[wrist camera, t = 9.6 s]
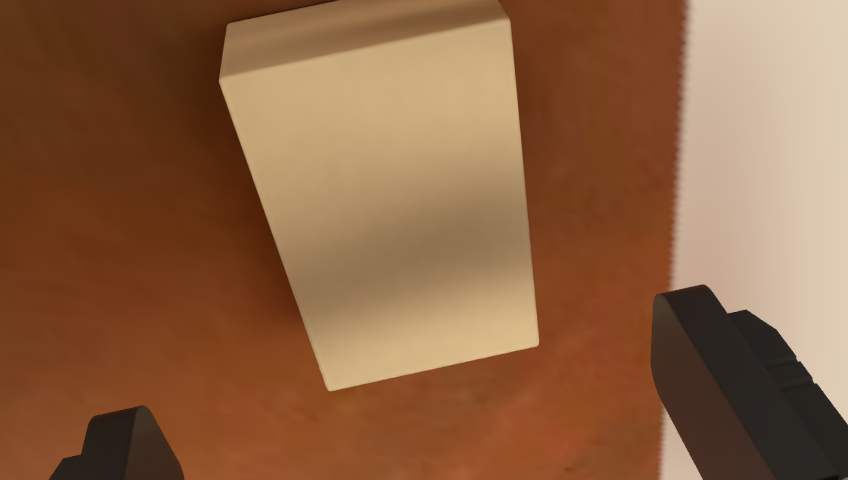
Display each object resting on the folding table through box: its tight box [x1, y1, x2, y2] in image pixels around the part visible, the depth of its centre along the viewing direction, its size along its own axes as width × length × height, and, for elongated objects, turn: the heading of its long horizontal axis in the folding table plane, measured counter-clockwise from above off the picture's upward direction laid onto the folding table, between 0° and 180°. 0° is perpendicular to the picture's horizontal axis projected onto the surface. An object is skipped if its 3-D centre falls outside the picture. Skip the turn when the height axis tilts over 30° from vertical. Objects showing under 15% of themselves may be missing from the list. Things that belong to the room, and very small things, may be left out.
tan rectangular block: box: [219, 0, 539, 391], centre depth 16 cm, size 8×5×2 cm, turn 9°
